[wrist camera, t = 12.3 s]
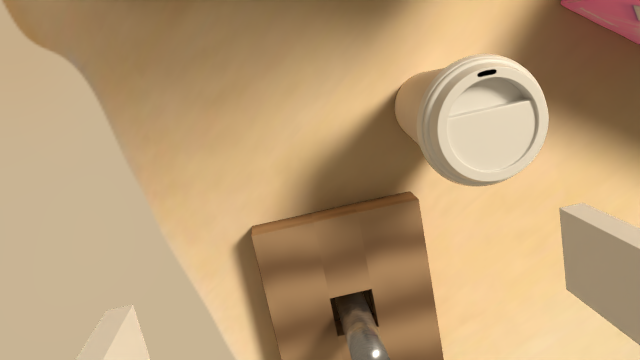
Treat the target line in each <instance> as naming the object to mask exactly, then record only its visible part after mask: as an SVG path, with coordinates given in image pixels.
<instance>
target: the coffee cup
mask: <svg viewBox="0 0 640 360" xmlns="http://www.w3.org/2000/svg"><path fill="white" fill-rule="evenodd" d="M395 116H396V119H397V122H398V124H399V125H400V127H401V128H402V129H403V130H404V131H405V132H406V133H407V134H408V135H409V136H410V137H411V138H412V139H413V140H414V141H415V142H416V143H417V144H418V145H419V146H420V148H421V151H422V153H423V155H424V157H425V158H426V160H427V162H428V163H429V164H430V165H431V167H432V168H433V169H434V170H435V171H436V172H437V173H439V174H440V175H441V176H443V177H444V178H446V179H448V180H450V181H452V182H454V183H457V184H461V185H466V186H487V185H493V184H496V183H499V182H502V181H504V180H507V179H509V178H511V177H512V176H514V175H516V174H517V173H519V172H520V171H521V170H523V169H524V168H525V167H527V166H528V165H529V164H530V163H531V162H532V161H533V159H534V158H535V157H536V156H537V154H538V153H539V151H540V149H541V147H542V145H543V143H544V141H545V138H546V134H547V130H548V121H549V116H548V108H547V104H546V100H545V97H544V94H543V92H542V89H541V87H540V86H539V84H538V82H537V81H536V79H535V78H534V77H533V75H532V74H531V73H530V72H529V71H528V70H527V69H525V68H524V67H523V66H521V65H520V64H519V63H517V62H515V61H514V60H512V59H509V58H507V57H504V56H500V55H496V54H477V55H471V56H468V57H465V58H462V59H460V60H458V61H456V62H454V63H452V64H450V65H449V66H447V67H446V68H442V69H437V70H433V71H428V72H423V73H419V74H417V75H414V76H413V77H411V78H409V79H408V80H407V81H406V82H405V83H404V84H403V85H402V86H401V88H400V90H399V91H398V93H397V96H396V99H395Z"/></svg>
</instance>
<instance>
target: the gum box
mask: <svg viewBox="0 0 640 360" xmlns="http://www.w3.org/2000/svg"><path fill="white" fill-rule="evenodd" d="M560 3H561V5H562V6H564V7H566V8H568V9H570V10H571V11H574V12H576V13H578V14H580V15H582V16H584V17H585V18H587V19H589V20H591V21H593V22H595V23H597V24H599V25H601V26H603V27H605V28H607V29H610V30H612V31H614V32H616V33H618V34H620V35H622V36H624V37H625V38H627V39H629V40H631V41H633V42H635V43H637V44H639V45H640V0H561V2H560Z"/></svg>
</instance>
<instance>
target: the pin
mask: <svg viewBox="0 0 640 360" xmlns="http://www.w3.org/2000/svg"><path fill="white" fill-rule="evenodd" d="M335 302H336V306H337V309H338V313H339V316H340V320H341V323H342V327H343V331H344V334H345V338H346V341H347V345H348V348H349V352H350V355H351V359H352V360H390V358H389V356H388V353H387V351H386V348H385V346H384V343H383V341H382V339H381V336H380V334H379V331H378V329H377V326H376V324H375V322H374V319H373V317H372V314H371V312H370V309H369V307H368V304H367V302H366V300H365V297H364V295H363V292H362V291H360V292H356V293H352V294H347V295H343V296H339V297H335Z"/></svg>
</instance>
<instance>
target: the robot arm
mask: <svg viewBox="0 0 640 360" xmlns="http://www.w3.org/2000/svg"><path fill="white" fill-rule="evenodd" d="M559 210H560V221H561V233H562V244H563V256H564V267H565V279H566V289H567V290H568V291H570V292H571V293H572V294H573V295H575V296H576V297H577V298H579V299H580V300H581V301H583V302H584V303H585V304H587V305H588V306H589V307H590V308H592V309H593V310H594V311H596V312H597V313H598V314H600V315H601V316H602V317H604V318H605V319H606V320H607V321H609V322H610V323H611V324H613V325H614V326H615V327H617V328H618V329H619V330H621V331H622V332H623V333H624V334H626V335H627V336H628V337H630V338H631V339H632V340H634V341H635V342H636V343H638V344H639V345H640V228H638V227H636V226H633V225H631V224H629V223H627V222H625V221H622V220H620V219H618V218H616V217H614V216H611V215H609V214H607V213H605V212H602V211H600V210H598V209H596V208H594V207H591V206H589V205H587V204H585V203H580V204H575V205H571V206H566V207H562V208H559ZM76 360H150V357H149V354H148V351H147V348H146V345H145V342H144V338H143V335H142V332H141V329H140V326H139V322H138V319H137V316H136V313H135V310H134V306H133V304H132V305H128V306H123V307H119V308H115V309H110V310H107V311H106V312H105V314H104V316H103V317H102V319H101V320H100V322H99V323H98V325H97V326H96V328H95V330H94V331H93V333H92V334H91V336H90V337H89V339H88V341H87V342H86V344H85V345H84V347H83V349H82V350H81V352H80V353H79V355H78V356H77V358H76Z"/></svg>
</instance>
